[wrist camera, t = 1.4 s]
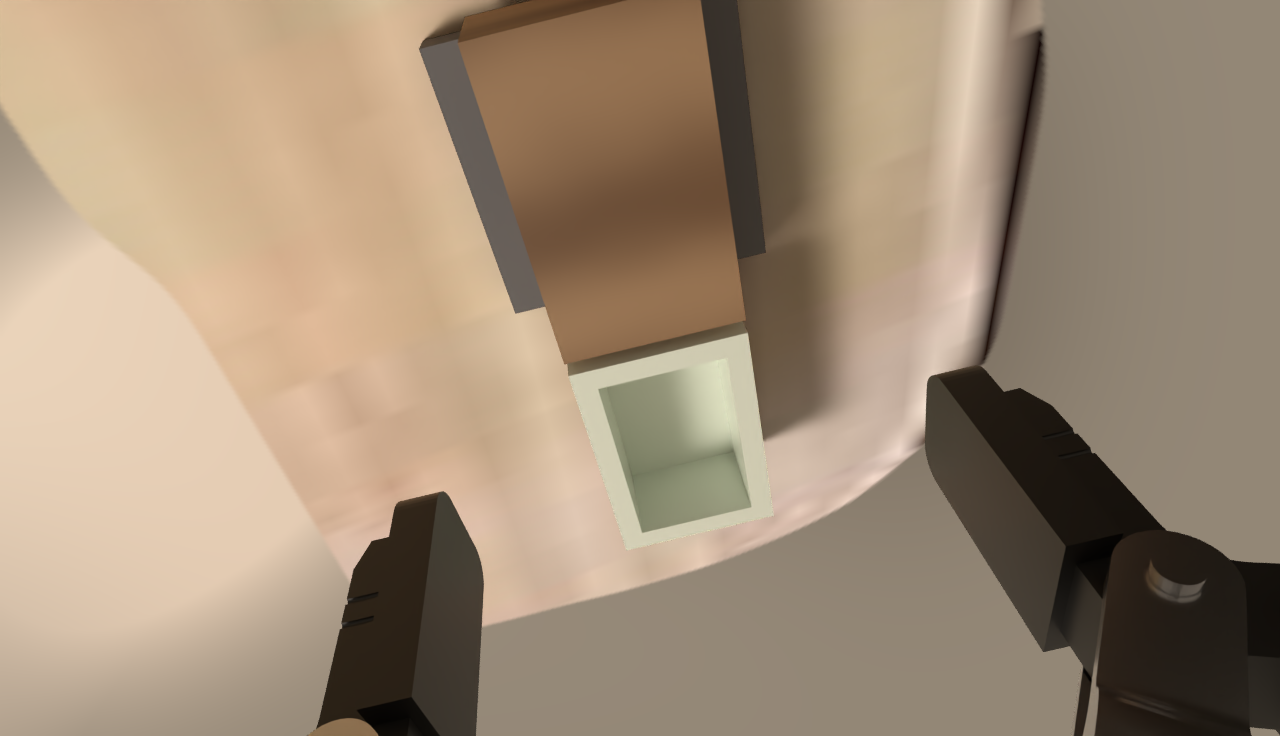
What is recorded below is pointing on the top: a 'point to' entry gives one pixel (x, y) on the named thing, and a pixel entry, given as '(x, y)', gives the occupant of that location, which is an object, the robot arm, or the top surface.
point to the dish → (677, 434)
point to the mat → (489, 183)
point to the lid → (610, 165)
